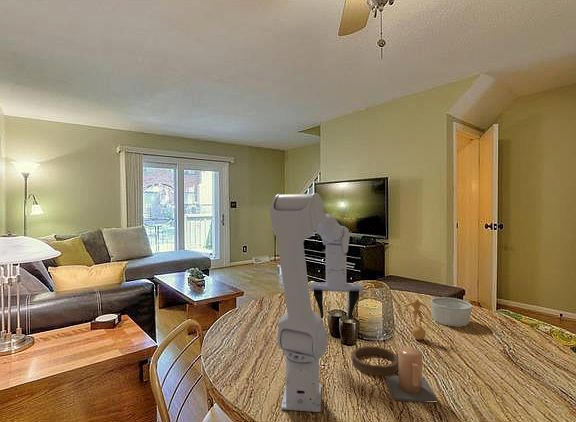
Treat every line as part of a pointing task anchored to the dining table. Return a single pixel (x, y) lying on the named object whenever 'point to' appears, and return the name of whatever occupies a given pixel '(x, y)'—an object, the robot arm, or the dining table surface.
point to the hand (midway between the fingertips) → (335, 317)
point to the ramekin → (451, 311)
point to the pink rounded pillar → (410, 370)
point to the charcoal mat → (404, 396)
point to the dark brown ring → (374, 368)
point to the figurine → (418, 330)
